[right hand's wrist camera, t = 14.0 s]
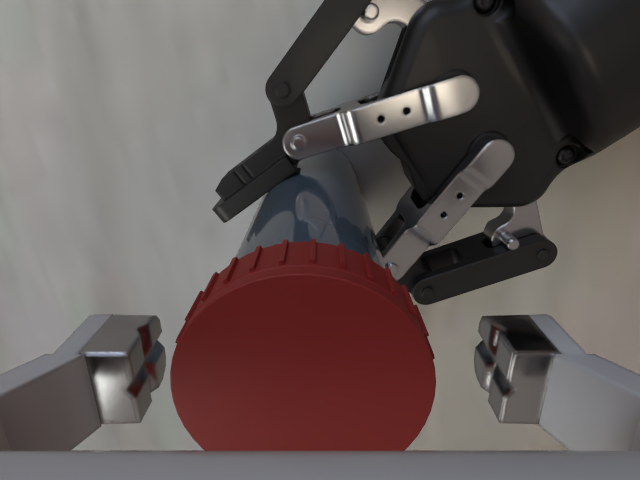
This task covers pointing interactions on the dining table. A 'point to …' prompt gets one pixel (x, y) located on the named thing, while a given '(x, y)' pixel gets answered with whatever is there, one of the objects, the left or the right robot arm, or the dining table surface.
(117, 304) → the dining table surface
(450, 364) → the dining table surface
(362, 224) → the blue grey cylinder
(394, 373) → the lid
